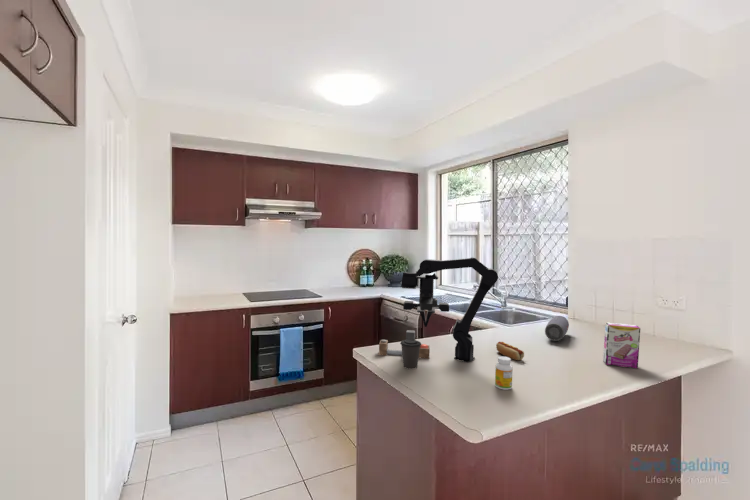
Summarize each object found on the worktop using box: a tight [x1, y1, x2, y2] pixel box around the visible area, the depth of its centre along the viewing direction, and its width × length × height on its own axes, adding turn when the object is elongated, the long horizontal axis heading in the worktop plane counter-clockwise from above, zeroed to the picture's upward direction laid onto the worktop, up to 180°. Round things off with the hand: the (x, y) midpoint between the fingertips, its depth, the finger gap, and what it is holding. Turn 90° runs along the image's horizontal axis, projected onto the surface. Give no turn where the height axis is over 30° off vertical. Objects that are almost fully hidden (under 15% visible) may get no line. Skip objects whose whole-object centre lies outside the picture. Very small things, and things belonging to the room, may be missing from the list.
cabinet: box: [418, 344, 431, 359], centre depth 153 cm, size 5×5×4 cm
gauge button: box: [420, 343, 428, 349], centre depth 153 cm, size 3×3×4 cm
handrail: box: [387, 349, 402, 356], centre depth 154 cm, size 13×2×2 cm, turn 81°
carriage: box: [405, 329, 416, 340], centre depth 153 cm, size 5×6×10 cm
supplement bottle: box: [494, 355, 513, 391], centre depth 123 cm, size 5×5×10 cm
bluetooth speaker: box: [544, 315, 570, 342], centre depth 185 cm, size 23×9×10 cm, turn 147°
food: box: [495, 341, 525, 361], centre depth 155 cm, size 14×6×5 cm, turn 21°
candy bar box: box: [602, 321, 641, 369], centre depth 146 cm, size 11×5×16 cm, turn 71°
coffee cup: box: [399, 339, 422, 370], centre depth 140 cm, size 8×8×10 cm
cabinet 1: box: [378, 339, 389, 357], centre depth 155 cm, size 3×5×6 cm, turn 171°
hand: (425, 326), depth 154 cm, fingers closed
